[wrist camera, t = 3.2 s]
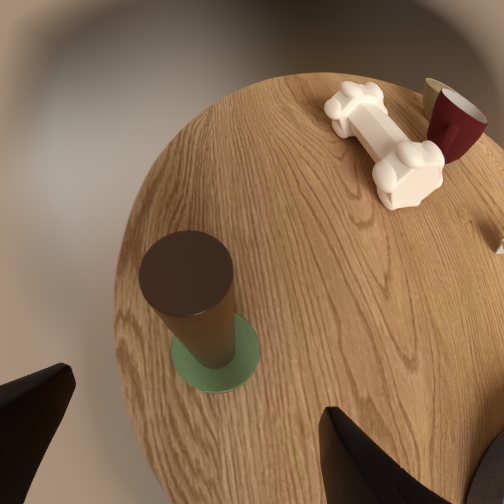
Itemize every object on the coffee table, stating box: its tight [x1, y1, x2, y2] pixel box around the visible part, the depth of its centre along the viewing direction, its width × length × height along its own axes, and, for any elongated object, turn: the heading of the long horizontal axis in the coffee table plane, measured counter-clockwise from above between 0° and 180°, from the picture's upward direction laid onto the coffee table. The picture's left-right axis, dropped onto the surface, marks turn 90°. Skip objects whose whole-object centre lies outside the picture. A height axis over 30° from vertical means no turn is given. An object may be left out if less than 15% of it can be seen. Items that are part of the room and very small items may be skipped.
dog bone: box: [324, 81, 445, 210], centre depth 26 cm, size 15×9×8 cm, turn 13°
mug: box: [427, 88, 488, 164], centre depth 28 cm, size 10×8×10 cm
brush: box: [139, 230, 260, 393], centre depth 13 cm, size 5×5×14 cm
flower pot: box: [423, 78, 460, 121], centre depth 36 cm, size 10×10×7 cm
